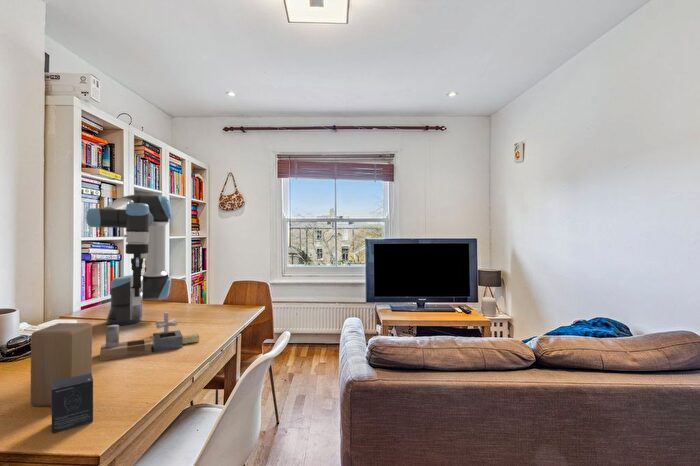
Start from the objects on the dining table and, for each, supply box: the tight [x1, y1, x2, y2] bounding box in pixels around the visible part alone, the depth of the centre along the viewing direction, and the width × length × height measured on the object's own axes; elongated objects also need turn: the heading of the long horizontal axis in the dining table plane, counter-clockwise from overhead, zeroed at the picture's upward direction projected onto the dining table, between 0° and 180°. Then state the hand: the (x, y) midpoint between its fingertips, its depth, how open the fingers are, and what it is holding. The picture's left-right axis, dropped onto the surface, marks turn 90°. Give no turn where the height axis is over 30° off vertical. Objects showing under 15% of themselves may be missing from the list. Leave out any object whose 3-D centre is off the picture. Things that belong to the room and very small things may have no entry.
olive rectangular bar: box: [182, 333, 200, 345], centre depth 145 cm, size 3×8×2 cm, turn 123°
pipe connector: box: [155, 311, 178, 332], centre depth 156 cm, size 10×10×10 cm
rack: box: [99, 325, 152, 362], centre depth 132 cm, size 8×16×11 cm, turn 123°
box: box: [50, 372, 94, 434], centre depth 85 cm, size 8×6×11 cm
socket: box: [152, 329, 184, 353], centre depth 141 cm, size 10×10×4 cm
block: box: [30, 322, 93, 407], centre depth 97 cm, size 10×10×20 cm
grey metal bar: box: [130, 275, 144, 320], centre depth 133 cm, size 4×4×16 cm
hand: (136, 303), depth 133 cm, fingers closed on grey metal bar, 4 cm apart
